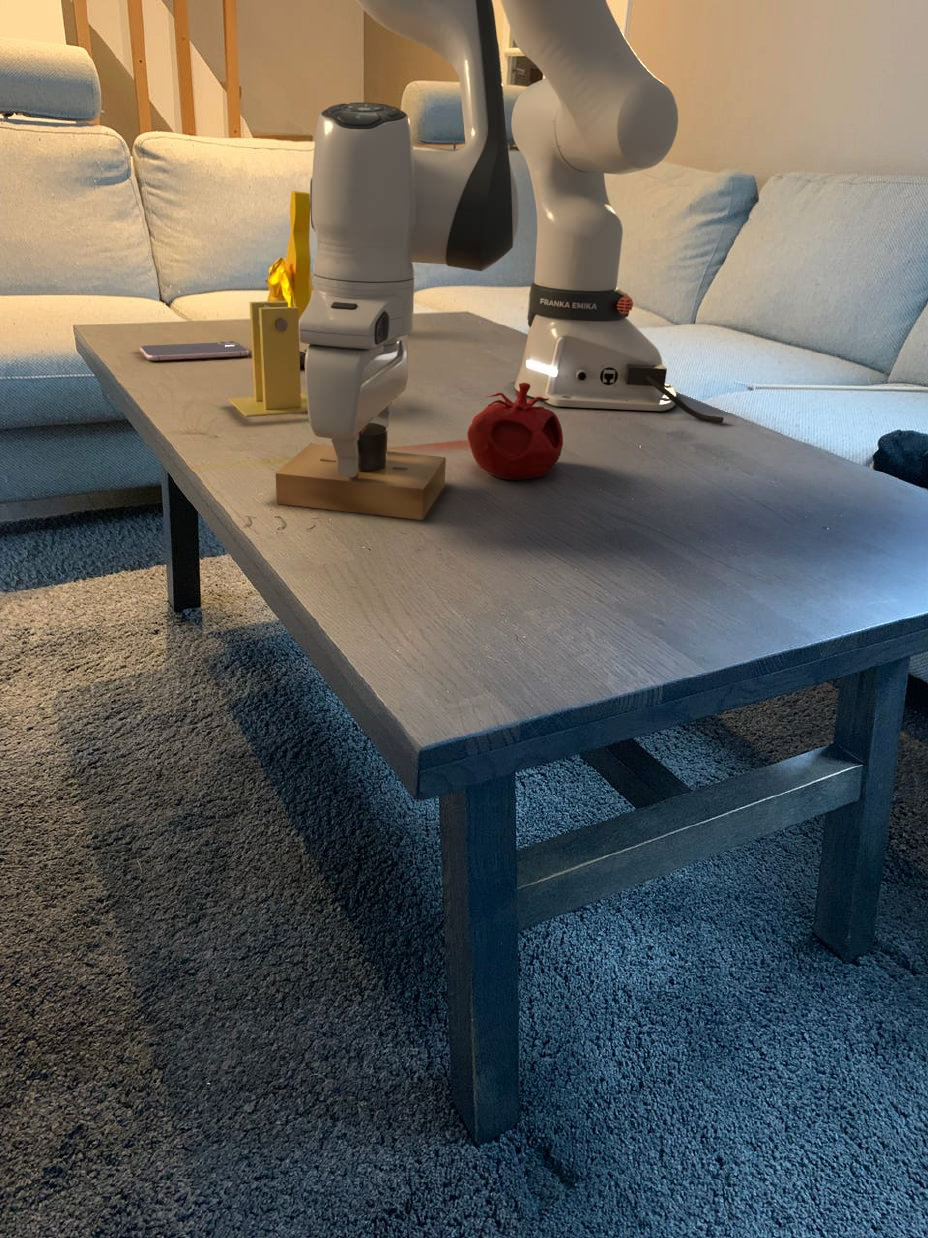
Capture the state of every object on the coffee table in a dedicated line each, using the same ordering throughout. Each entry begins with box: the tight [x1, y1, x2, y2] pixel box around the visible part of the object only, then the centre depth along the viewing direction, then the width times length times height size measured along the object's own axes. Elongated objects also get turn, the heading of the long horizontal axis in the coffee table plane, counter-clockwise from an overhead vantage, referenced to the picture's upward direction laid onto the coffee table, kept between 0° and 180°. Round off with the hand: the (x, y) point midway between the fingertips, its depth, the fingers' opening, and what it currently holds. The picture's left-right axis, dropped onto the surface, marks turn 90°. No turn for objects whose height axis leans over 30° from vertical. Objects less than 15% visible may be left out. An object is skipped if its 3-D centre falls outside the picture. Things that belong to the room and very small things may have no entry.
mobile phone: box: [139, 340, 250, 362], centre depth 144 cm, size 8×1×15 cm
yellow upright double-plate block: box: [228, 300, 308, 418], centre depth 115 cm, size 10×8×13 cm
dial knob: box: [357, 423, 388, 471], centre depth 91 cm, size 4×4×4 cm
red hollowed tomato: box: [466, 383, 564, 481], centre depth 100 cm, size 10×10×9 cm
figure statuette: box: [265, 190, 313, 319], centre depth 159 cm, size 18×8×22 cm, turn 23°
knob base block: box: [275, 442, 447, 521], centre depth 93 cm, size 14×10×3 cm
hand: (363, 459), depth 92 cm, fingers open, 8 cm apart
